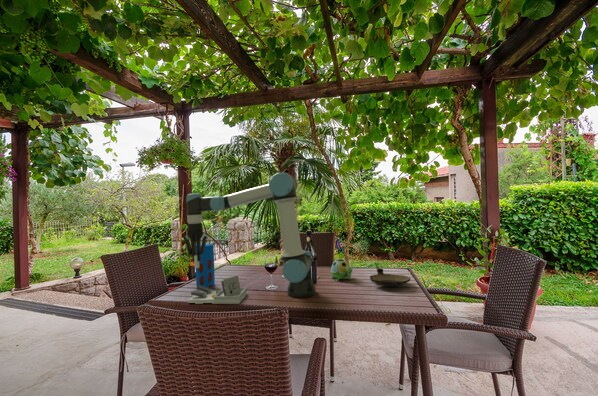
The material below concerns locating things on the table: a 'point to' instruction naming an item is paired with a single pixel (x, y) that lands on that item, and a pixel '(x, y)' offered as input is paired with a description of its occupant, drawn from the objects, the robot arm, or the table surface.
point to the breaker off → (204, 289)
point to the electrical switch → (231, 286)
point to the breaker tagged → (199, 293)
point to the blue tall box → (206, 268)
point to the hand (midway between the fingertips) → (197, 267)
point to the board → (219, 297)
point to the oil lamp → (388, 279)
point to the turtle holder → (341, 269)
